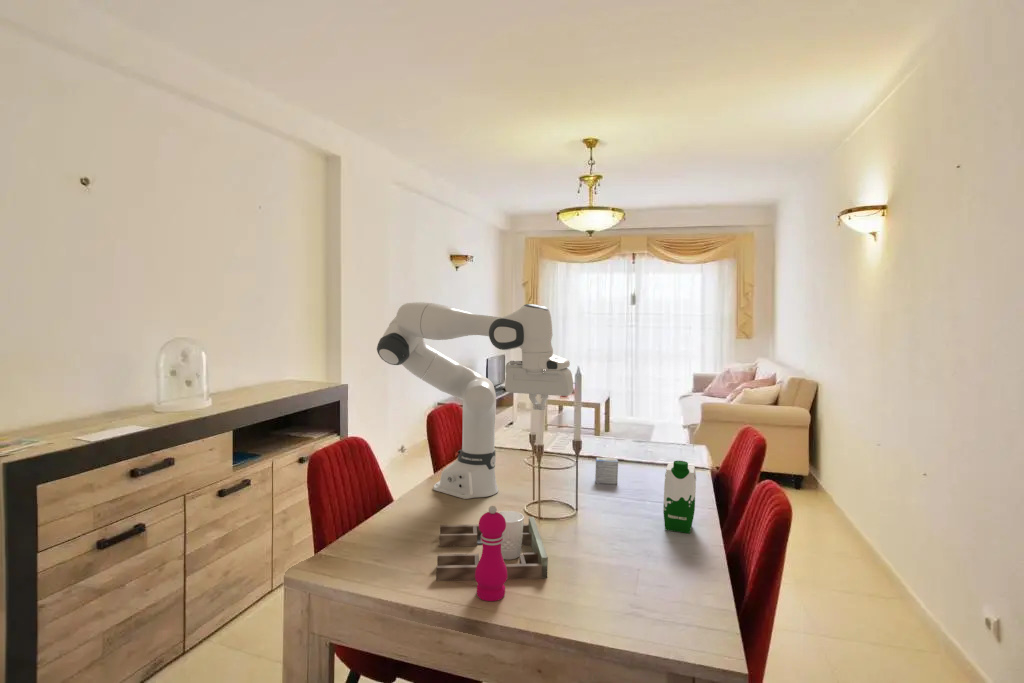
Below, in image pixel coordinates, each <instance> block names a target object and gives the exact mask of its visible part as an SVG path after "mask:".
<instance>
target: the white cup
mask: <svg viewBox="0 0 1024 683" xmlns="http://www.w3.org/2000/svg"><path fill="white" fill-rule="evenodd" d="M497 512H498V513H500V514H501V515H502V516H503V517H504V518H505V521H506V528H505V530H504V532H503V533H502V534H503V542H502V543H501V554H502V557H503V560H514V559H517V558H518V559H519V555H522V554H521V553H522V546H523V545H522V536H523V524H524V520H525V516H524V515H523V513H521V512H519V511H516V510H501V511H497Z"/></svg>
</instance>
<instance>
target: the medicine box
mask: <svg viewBox="0 0 1024 683" xmlns="http://www.w3.org/2000/svg"><path fill="white" fill-rule="evenodd" d="M618 472H619V460H618V458H615V457H595V477H594V478H595V484H600V485H601V484H603V485H618V478H619V477H618V475H619V474H618Z"/></svg>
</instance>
